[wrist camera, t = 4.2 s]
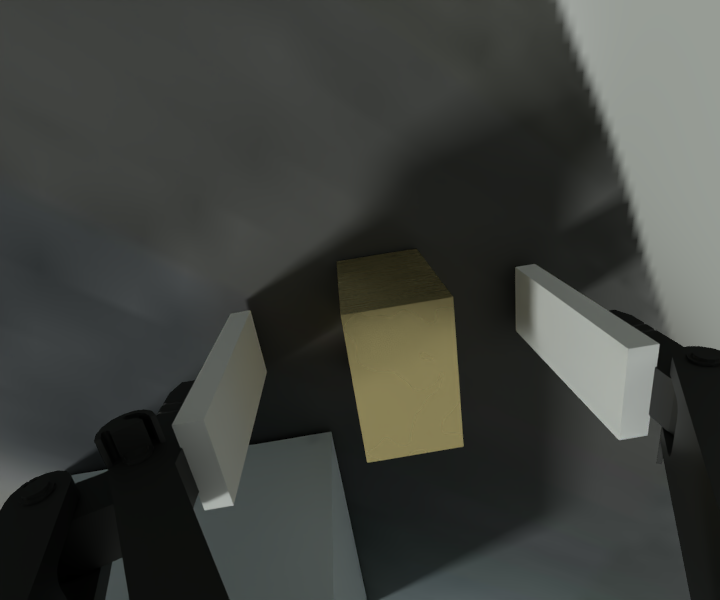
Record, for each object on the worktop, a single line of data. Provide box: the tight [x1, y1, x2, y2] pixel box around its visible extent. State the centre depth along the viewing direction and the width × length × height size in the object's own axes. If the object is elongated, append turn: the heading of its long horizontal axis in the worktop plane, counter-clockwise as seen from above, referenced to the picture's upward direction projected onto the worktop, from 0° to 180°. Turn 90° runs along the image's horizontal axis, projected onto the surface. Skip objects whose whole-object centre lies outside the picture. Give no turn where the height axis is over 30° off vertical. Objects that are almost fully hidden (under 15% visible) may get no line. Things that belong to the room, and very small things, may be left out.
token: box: [337, 249, 464, 463], centre depth 14 cm, size 5×3×5 cm, turn 8°
